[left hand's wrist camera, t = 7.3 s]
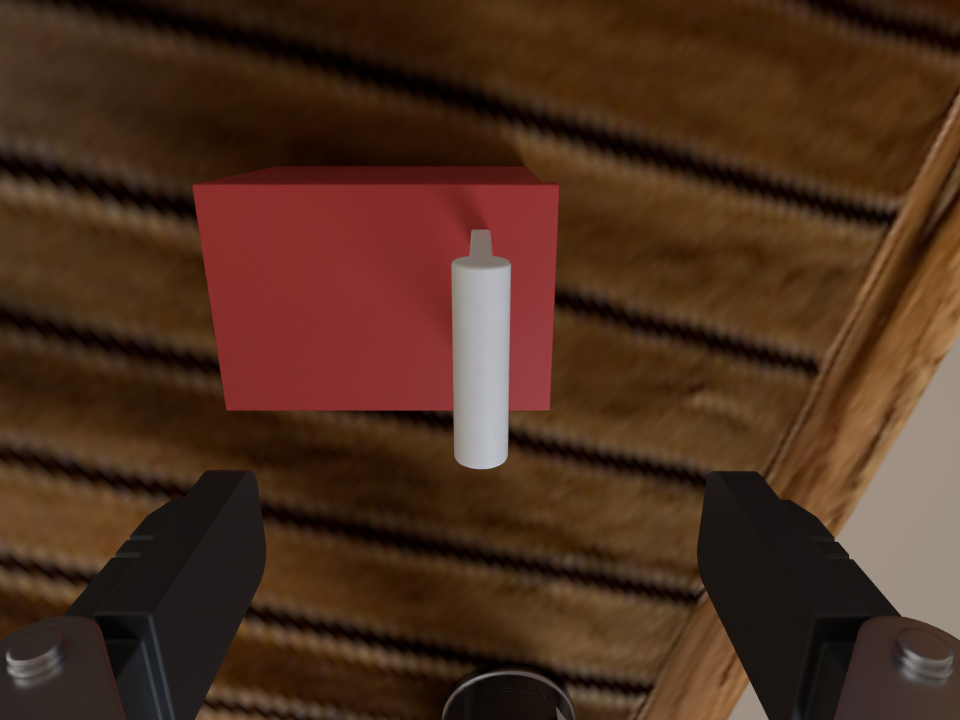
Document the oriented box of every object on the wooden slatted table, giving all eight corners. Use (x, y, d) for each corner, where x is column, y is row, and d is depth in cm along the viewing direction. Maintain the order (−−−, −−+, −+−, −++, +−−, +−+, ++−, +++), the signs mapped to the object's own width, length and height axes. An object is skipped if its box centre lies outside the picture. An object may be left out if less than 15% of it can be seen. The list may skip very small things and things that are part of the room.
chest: (525, 166, 33) (542, 181, 24) (522, 333, 36) (535, 401, 27) (275, 165, 33) (201, 181, 24) (293, 333, 36) (233, 401, 27)
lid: (556, 182, 24) (593, 209, 16) (548, 402, 27) (575, 512, 19) (201, 182, 24) (70, 210, 16) (233, 402, 27) (136, 512, 19)
